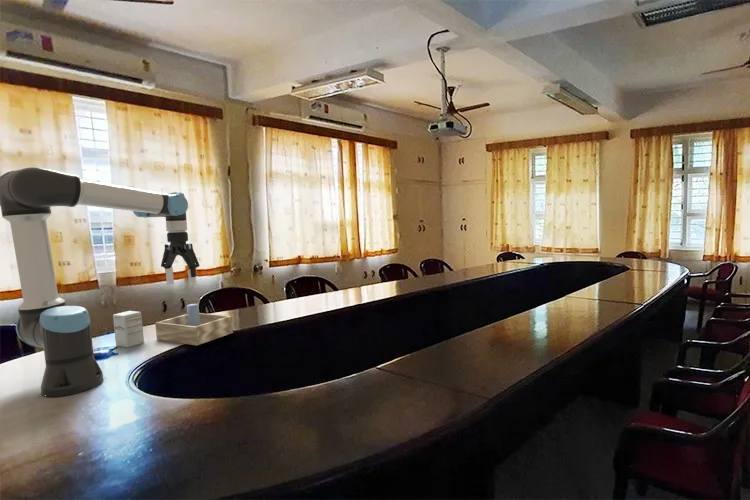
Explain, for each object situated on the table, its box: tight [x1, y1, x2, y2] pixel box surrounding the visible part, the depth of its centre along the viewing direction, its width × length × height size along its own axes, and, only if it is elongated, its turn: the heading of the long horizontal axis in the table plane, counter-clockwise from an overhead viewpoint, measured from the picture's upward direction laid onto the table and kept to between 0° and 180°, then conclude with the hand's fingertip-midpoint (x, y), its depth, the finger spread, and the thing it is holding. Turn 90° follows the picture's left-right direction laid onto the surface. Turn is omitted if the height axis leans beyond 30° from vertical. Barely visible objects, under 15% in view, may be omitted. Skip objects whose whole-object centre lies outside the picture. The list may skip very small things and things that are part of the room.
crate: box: [154, 312, 234, 346], centre depth 177 cm, size 18×24×7 cm
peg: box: [186, 303, 200, 326], centre depth 177 cm, size 4×4×13 cm
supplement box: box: [112, 310, 145, 348], centre depth 171 cm, size 7×7×13 cm
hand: (181, 285), depth 173 cm, fingers open, 13 cm apart
